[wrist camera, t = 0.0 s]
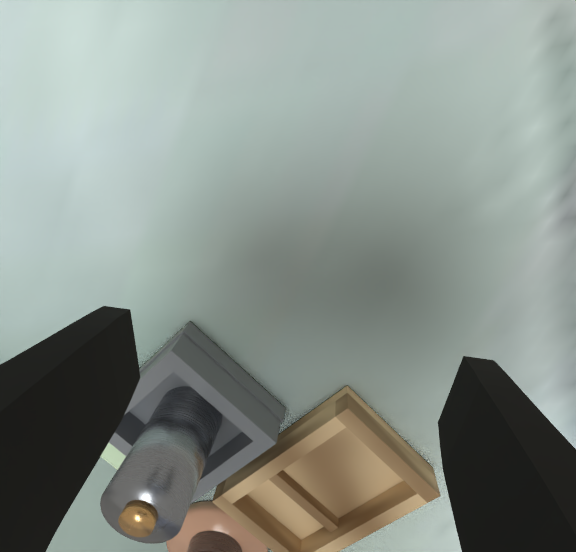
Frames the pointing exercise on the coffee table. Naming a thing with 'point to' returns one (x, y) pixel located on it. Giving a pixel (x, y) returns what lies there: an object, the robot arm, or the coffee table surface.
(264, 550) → the dish
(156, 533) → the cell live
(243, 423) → the cradle
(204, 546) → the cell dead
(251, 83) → the coffee table surface
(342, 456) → the tray
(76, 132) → the coffee table surface
